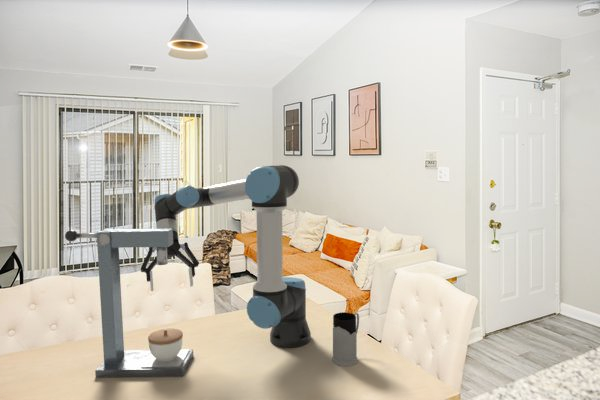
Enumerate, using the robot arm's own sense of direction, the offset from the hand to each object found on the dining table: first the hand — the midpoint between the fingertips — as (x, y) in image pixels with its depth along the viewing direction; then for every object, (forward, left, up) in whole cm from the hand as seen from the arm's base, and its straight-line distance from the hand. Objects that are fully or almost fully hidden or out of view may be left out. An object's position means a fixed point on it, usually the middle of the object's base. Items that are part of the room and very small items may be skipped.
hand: (172, 287), depth 154 cm
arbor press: (+10, +14, -22) cm, 28 cm away
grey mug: (-62, +9, -22) cm, 66 cm away
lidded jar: (-2, +14, -19) cm, 24 cm away
